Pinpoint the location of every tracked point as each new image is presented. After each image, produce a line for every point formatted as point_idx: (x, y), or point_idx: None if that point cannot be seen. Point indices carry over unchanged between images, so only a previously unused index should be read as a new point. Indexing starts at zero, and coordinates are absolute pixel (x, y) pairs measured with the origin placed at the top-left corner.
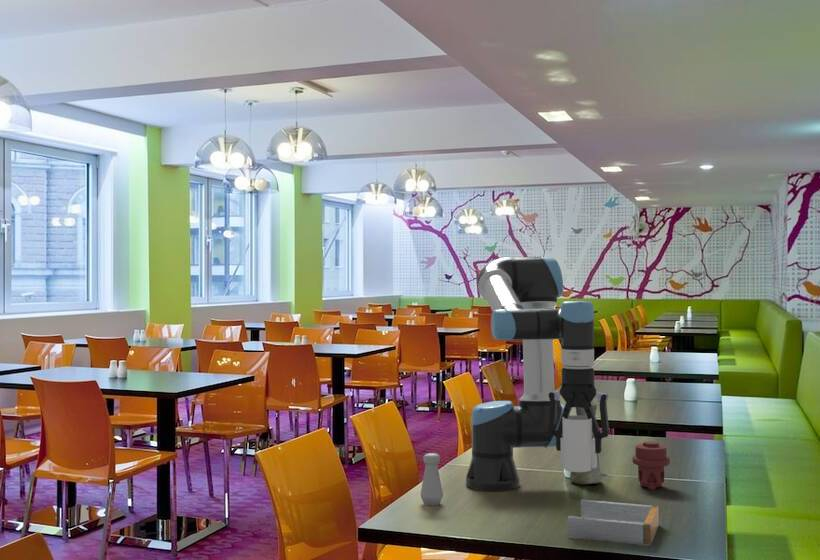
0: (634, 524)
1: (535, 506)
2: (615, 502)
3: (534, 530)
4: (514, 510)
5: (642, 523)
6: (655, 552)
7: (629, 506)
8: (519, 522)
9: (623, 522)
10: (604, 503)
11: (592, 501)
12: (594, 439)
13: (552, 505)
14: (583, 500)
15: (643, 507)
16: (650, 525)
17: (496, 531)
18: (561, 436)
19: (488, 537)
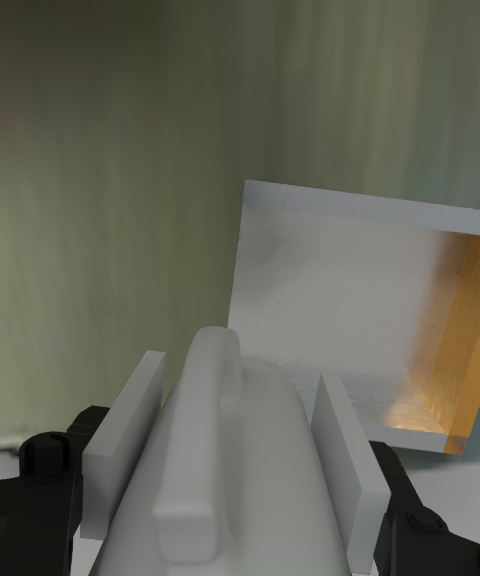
0: (417, 448)
1: (63, 49)
2: (376, 197)
3: (120, 344)
4: (5, 129)
5: (442, 442)
6: (441, 461)
7: (424, 227)
8: (60, 274)
9: (385, 442)
10: (332, 215)
11: (286, 202)
12: (367, 555)
13: (122, 15)
14: (251, 194)
15: (476, 233)
16: (464, 446)
17: (22, 374)
18: (78, 518)
19: (18, 427)
